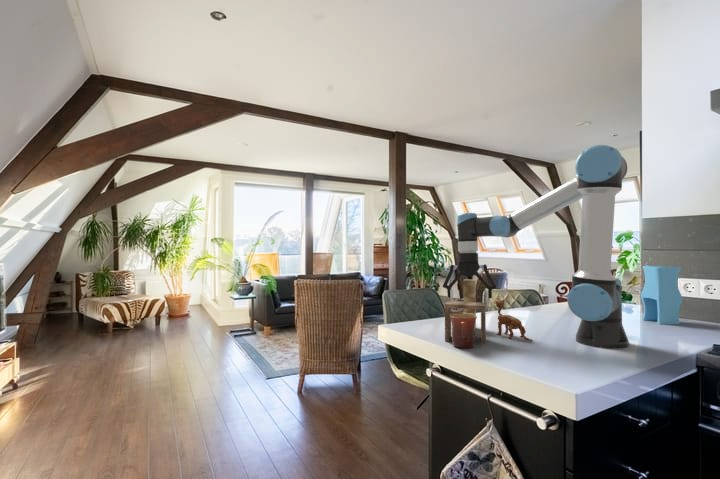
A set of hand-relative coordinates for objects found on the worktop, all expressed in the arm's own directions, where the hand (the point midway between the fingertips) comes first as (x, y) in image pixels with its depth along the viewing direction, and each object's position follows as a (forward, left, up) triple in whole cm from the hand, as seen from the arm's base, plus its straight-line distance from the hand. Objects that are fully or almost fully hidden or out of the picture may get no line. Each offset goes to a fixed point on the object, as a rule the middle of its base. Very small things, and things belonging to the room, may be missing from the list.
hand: (469, 306), depth 143 cm
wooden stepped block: (+1, +3, -10) cm, 11 cm away
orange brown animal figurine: (-16, +4, -10) cm, 19 cm away
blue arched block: (-77, -45, -10) cm, 89 cm away
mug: (0, +24, -10) cm, 26 cm away
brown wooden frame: (0, +14, -10) cm, 17 cm away
